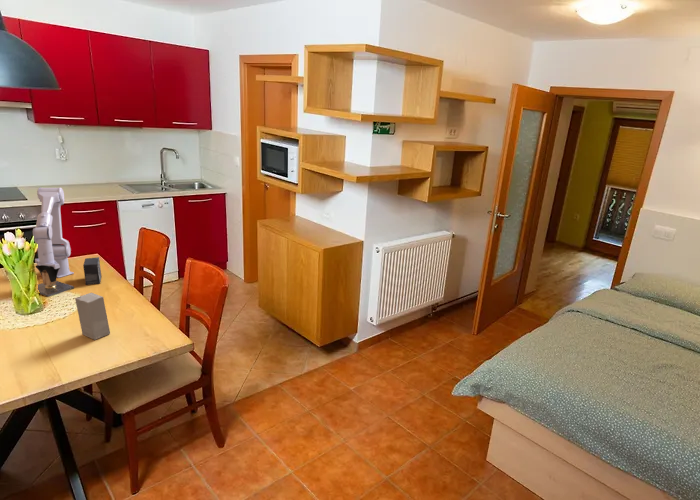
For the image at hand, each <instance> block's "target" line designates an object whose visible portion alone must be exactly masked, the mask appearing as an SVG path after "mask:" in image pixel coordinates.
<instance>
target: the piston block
mask: <svg viewBox="0 0 700 500" xmlns="http://www.w3.org/2000/svg"><path fill="white" fill-rule="evenodd" d="M37 285H38V290H39V292H40V294H39V295H42V296H45V297H48V298H49V297H52V296H56V295H57V294H61V293H64V292H67V291H70V290H74V289H75V286H73V285H72V284H67V283H64V282H61V281H58V280H56V283H55V284H52V285H44V284H43V282H42V283H38V284H37Z"/></svg>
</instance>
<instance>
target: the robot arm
mask: <svg viewBox="0 0 700 500" xmlns="http://www.w3.org/2000/svg"><path fill="white" fill-rule="evenodd" d="M36 190H37V191H36V192H37V193H36V194H37V199H38V200H39V202H41V207H40V209H41V210H40V211H41V212H40V213H39V214H38V215H37V218H36V219H37V220H36V224H35V227H34V228H32V236H34V238H33V240H34V243H35V242H36V243H37V244H38V249H37V248H36V249H37V257H38V258H35V259H34V262H35V264H36V265H35V268H36V269H37V270H38V272H39V273H40V275H41V276H42V271H43V270H46V271H47V273H48V275H49V279H50V281H51V282H54V281H57V278H58V279H59V278H63V277H67V276H70V275H74V274H75V273H74V271H71V270H70V266H69V265H70V264H69V257H70V256H71V254H72V252H71V251H72V248H71V245H70V242H69V240H67V239H65V238H63V227H62V214H61V206H63V205H64V204H65V191H64V189H63V188H62V187H38V188H37V189H36ZM36 243H35V244H36ZM37 244H36V245H37Z"/></svg>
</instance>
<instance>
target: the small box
mask: <svg viewBox="0 0 700 500" xmlns="http://www.w3.org/2000/svg"><path fill="white" fill-rule="evenodd" d="M100 261H101V260H100V257H89V258H85V259H84V263H83V266H82V267H83V272H84V273H83V274H84V280H85V281H84V282H85V285H86V286H91V285H101V283H102V282H101V280H102V276H103V275H102V270H101V262H100Z"/></svg>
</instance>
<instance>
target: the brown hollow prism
mask: <svg viewBox="0 0 700 500" xmlns="http://www.w3.org/2000/svg"><path fill="white" fill-rule="evenodd" d="M41 278H42V283H43V284H44V285H52V284H55V283H56V281H57V280H56V281H54V282H51V281H50V279H49V275H48V273H47V271H46V270H43V271H42V275H41Z"/></svg>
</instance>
